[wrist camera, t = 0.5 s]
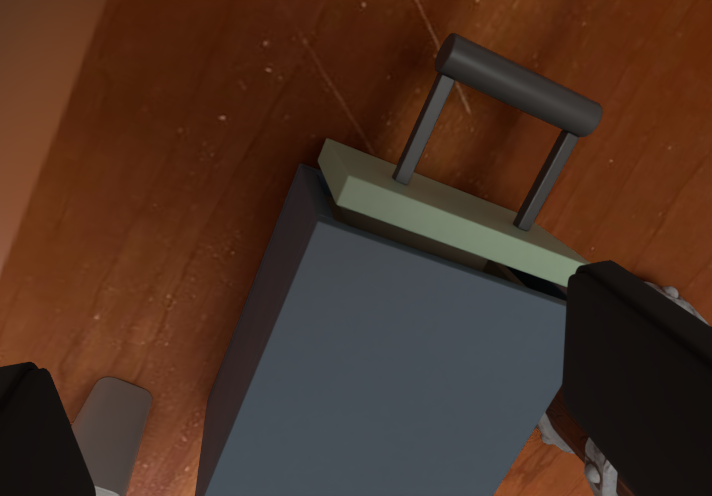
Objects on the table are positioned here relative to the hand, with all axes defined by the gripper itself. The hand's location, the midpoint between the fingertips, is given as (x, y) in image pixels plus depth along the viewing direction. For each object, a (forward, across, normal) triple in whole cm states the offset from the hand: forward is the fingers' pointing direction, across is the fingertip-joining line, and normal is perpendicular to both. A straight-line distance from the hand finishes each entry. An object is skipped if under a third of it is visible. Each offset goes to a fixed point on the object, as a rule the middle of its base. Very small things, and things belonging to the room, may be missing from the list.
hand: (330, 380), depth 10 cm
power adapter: (+18, +12, +13) cm, 26 cm away
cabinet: (+18, -3, +10) cm, 21 cm away
